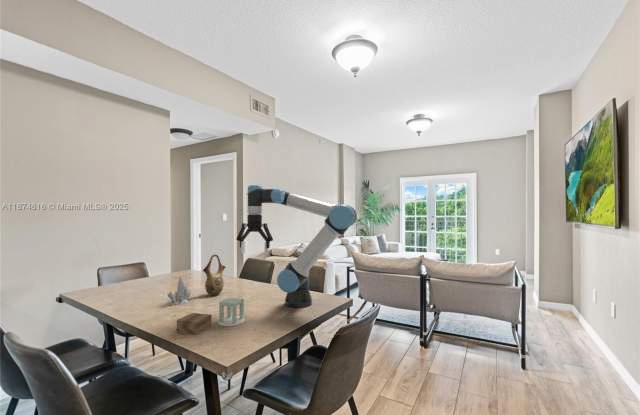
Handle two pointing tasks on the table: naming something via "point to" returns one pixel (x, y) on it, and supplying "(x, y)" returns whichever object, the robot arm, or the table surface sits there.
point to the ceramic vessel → (214, 278)
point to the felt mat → (228, 321)
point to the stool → (232, 303)
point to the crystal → (179, 294)
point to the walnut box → (194, 323)
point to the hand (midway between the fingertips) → (254, 254)
